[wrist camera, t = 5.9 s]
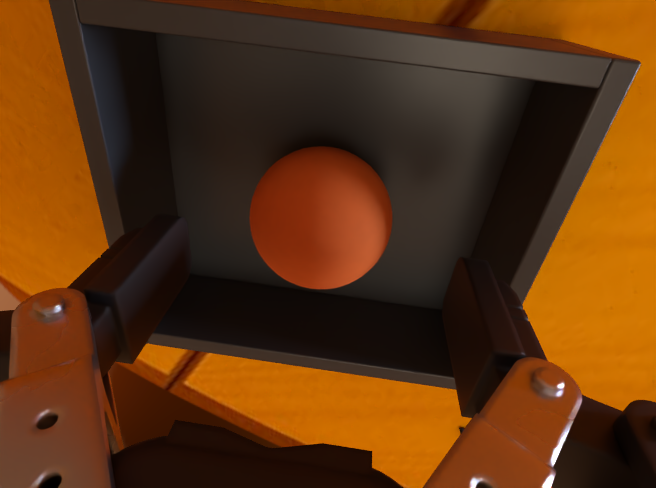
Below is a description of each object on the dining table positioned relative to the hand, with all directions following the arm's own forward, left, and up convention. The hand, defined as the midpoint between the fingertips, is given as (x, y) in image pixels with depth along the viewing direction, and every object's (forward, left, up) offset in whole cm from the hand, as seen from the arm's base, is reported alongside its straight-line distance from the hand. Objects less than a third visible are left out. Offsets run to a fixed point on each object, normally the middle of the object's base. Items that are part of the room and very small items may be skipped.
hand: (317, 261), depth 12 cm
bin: (0, 0, -6) cm, 6 cm away
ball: (0, 0, -3) cm, 3 cm away
